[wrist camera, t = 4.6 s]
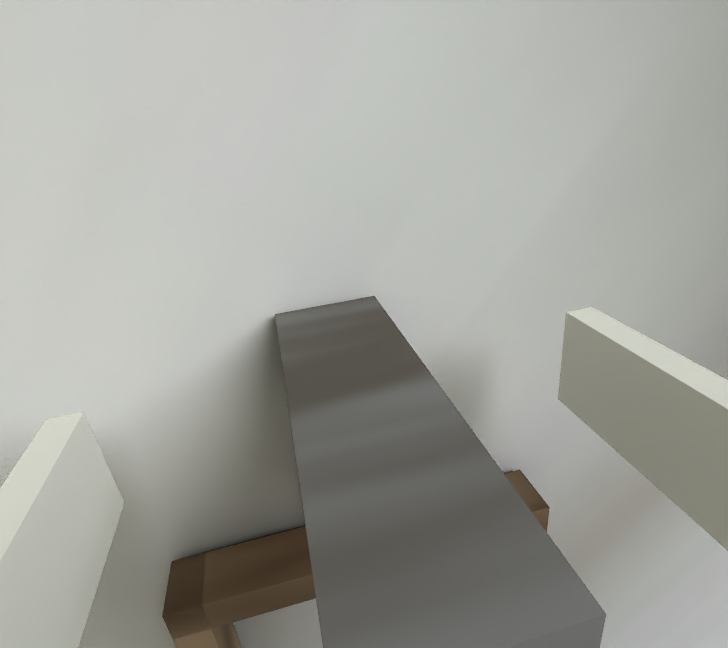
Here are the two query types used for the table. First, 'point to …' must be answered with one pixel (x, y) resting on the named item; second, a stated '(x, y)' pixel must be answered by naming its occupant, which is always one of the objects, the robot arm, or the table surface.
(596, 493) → the table surface
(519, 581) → the pull frame
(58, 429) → the robot arm
